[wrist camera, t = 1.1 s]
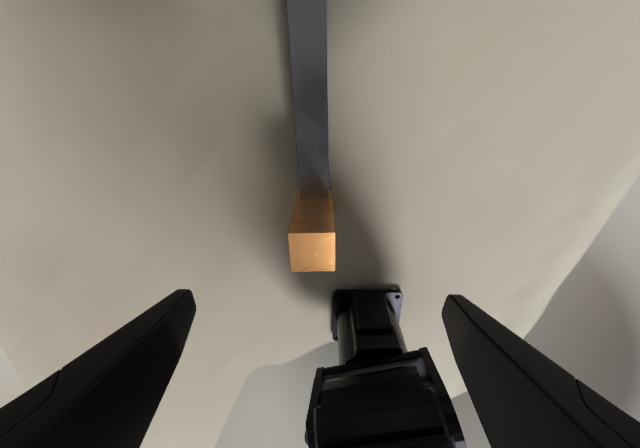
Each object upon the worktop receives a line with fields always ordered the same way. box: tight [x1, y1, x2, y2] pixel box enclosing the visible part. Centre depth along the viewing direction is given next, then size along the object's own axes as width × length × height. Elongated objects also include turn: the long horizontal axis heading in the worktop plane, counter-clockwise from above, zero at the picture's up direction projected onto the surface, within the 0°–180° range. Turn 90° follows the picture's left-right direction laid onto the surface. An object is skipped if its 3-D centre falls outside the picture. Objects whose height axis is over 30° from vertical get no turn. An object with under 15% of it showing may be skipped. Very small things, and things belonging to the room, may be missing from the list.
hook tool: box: [287, 0, 335, 272], centre depth 14 cm, size 16×7×7 cm, turn 2°
